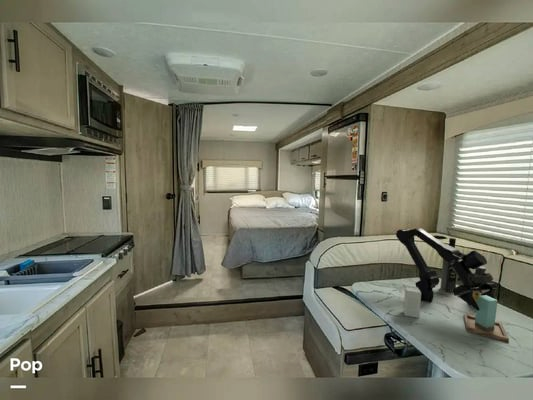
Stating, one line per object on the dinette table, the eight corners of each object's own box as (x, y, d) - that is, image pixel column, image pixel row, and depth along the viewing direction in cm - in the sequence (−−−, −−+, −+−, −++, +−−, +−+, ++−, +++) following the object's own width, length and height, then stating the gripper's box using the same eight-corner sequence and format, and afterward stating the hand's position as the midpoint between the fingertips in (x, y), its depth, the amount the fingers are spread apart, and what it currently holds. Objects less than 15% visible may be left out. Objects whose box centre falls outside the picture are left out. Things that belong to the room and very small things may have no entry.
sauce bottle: (464, 301, 134) (468, 264, 132) (475, 301, 134) (479, 264, 133) (475, 308, 127) (480, 269, 125) (487, 307, 128) (491, 268, 126)
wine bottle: (456, 292, 144) (461, 239, 141) (446, 292, 144) (451, 239, 141) (449, 288, 150) (454, 237, 147) (439, 287, 150) (444, 237, 147)
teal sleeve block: (485, 331, 107) (488, 301, 106) (474, 324, 112) (477, 296, 110) (494, 329, 108) (497, 300, 107) (483, 323, 113) (486, 295, 111)
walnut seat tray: (466, 331, 108) (467, 327, 108) (463, 317, 119) (463, 313, 119) (508, 342, 101) (509, 338, 101) (500, 326, 112) (501, 322, 112)
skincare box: (417, 313, 121) (419, 288, 120) (419, 318, 117) (421, 292, 116) (402, 311, 123) (404, 286, 122) (404, 315, 119) (406, 290, 118)
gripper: (461, 267, 110) (485, 305, 101) (495, 265, 114) (521, 301, 105) (443, 277, 119) (463, 313, 109) (475, 275, 123) (498, 309, 113)
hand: (487, 309), depth 109 cm, fingers open, 9 cm apart
